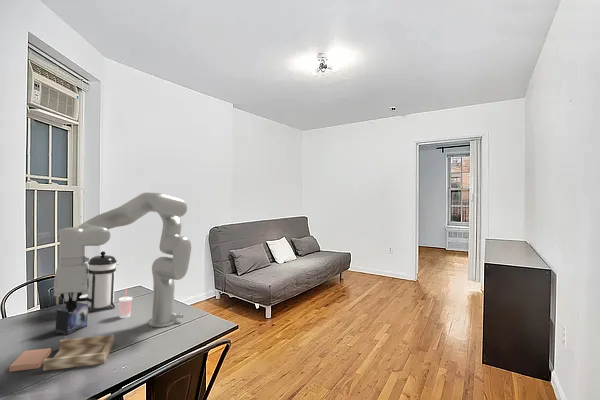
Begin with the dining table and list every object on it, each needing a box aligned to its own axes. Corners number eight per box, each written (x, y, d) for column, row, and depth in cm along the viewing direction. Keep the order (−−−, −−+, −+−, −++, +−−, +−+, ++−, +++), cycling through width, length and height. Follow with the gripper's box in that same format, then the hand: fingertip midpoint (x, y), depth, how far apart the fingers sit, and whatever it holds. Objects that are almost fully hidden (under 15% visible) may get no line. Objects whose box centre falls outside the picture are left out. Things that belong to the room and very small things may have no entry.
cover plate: (50, 356, 118) (51, 348, 118) (38, 371, 108) (39, 362, 108) (24, 359, 116) (24, 350, 116) (9, 375, 105) (9, 366, 105)
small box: (66, 336, 134) (67, 311, 134) (54, 334, 135) (55, 309, 135) (88, 326, 144) (89, 303, 144) (76, 324, 146) (77, 302, 146)
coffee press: (97, 301, 176) (99, 248, 176) (123, 304, 174) (125, 250, 174) (70, 312, 159) (72, 253, 159) (98, 315, 157) (101, 255, 157)
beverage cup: (128, 313, 162) (129, 286, 162) (133, 316, 158) (135, 288, 158) (115, 316, 157) (117, 288, 157) (120, 319, 153) (122, 291, 153)
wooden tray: (113, 345, 128) (114, 334, 128) (104, 365, 113) (104, 353, 113) (60, 350, 122) (60, 339, 122) (43, 372, 107) (43, 360, 107)
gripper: (98, 258, 122) (97, 305, 122) (51, 259, 117) (51, 309, 117) (93, 262, 115) (92, 312, 115) (43, 264, 110) (42, 316, 110)
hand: (71, 310), depth 116 cm, fingers closed
